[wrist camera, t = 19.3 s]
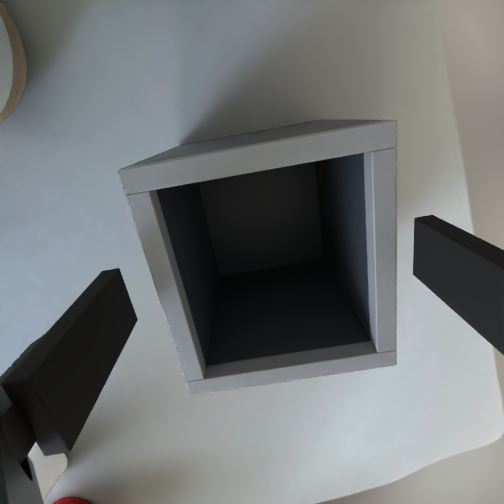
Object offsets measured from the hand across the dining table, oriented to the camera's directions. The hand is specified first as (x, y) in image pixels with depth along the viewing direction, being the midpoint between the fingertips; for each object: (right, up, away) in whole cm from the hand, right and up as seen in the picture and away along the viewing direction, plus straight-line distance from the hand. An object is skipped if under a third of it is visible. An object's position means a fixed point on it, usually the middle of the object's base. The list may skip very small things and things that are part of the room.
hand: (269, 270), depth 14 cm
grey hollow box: (+1, -3, +9) cm, 9 cm away
